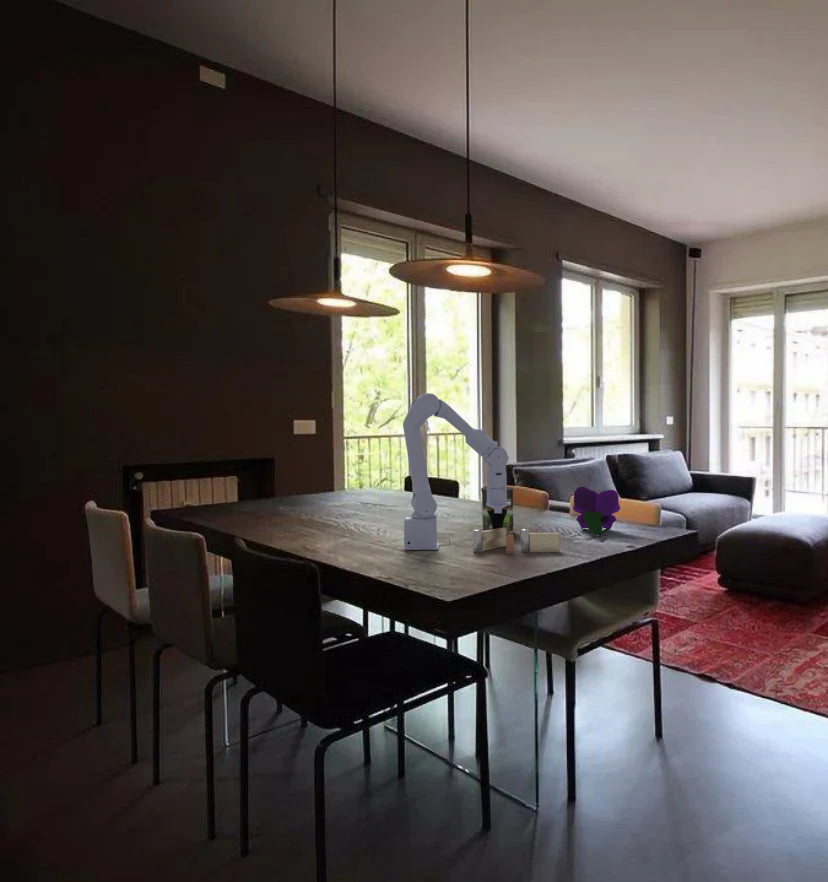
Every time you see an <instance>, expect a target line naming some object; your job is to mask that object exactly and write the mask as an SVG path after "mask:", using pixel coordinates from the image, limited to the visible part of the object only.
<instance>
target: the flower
mask: <svg viewBox="0 0 828 882" xmlns="http://www.w3.org/2000/svg"><path fill="white" fill-rule="evenodd" d="M619 499H620V498H619V493H618V492H617V490H614V489H607V490H603V491H601V492H599V493H597V492H596V491H595V490H592V489H589V488H588V487H585V486H579V487H577V488H576V489H575V491H574V493H573V506H572V509H573V511H574V512H575V513H578V514H579V515H578V516H577V517H576V520H575V521H576V522H577V523H578V524H579V527H580V529H581V530H582V529H583V528H588V529H587V530H589V531H590V532H591V533H592V534H594V535H596V536H597V535H601V536H602V535H604V533H607V531H610V530H611V529H612V527H613V524H614V523H615V522H616V521H617V518H616V516H615V515H614V514H615V513H618V512H619V511H620V510H621V506H620V503H619ZM604 528H606V529H604ZM609 529H610V530H609Z"/></svg>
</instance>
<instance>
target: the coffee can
mask: <svg viewBox="0 0 828 882" xmlns="http://www.w3.org/2000/svg"><path fill="white" fill-rule="evenodd" d="M480 491H481V531H485V530H492V523H491V519H490V516H489V514H488V512H487V510H493V509H494V508H491V507H488V506H486V503H487V486H486V487H482V488H480ZM507 502H510V503H511V505H510V506H506V507H504V508H502V509H506V510H507V514H506V516H505V519H504V522H503V527H508V528H510V534H514V488H513V487H509V486H507Z"/></svg>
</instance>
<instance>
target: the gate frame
mask: <svg viewBox="0 0 828 882" xmlns="http://www.w3.org/2000/svg"><path fill="white" fill-rule="evenodd" d="M481 531H482V529H472V552H473V553H474V552H481V553H482V552H483V550H482V533H481ZM519 532H520V534H519V535H520V537H519V538H520V540H519V541H520V552H521V553H524V552H527V553H560V533H559V532H530V529H528V528H527V529H526V528H521V529H520V530H519ZM514 536H515V535H514V533H510V534H506V546H505V551H506V553H505V554H515V548H514V547H515V542H514V540H515V538H514Z"/></svg>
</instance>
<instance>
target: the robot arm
mask: <svg viewBox="0 0 828 882" xmlns="http://www.w3.org/2000/svg"><path fill="white" fill-rule="evenodd" d="M432 416H433V417H434V418H435V417H436V418H440V419H444V420H445V421H447V422H448V423H449V425H451V426H452V427H454V429H456V430H457V431H459V432H460V433H461V434H462V435H463V436H464V439H465V443H466V444H467V446H469V448H471V449H473V451H475V452H476V454H478V455H479V456H480V457H482V458H483V459H484V462H485V463H486V487H487V503H486V506H488V507H491V508H494V509H493V510H487V512H488V514H489V516H490V519H491V523H492V529H498V528H503V522H504V519H505V516H506V514H507V510H506V509H502V508H504V507H506V506H510V505H511V503H510V502H507V487H508V486H507V482H508V481H507V464H508V462H509V458H510V457H509V456H508V452H507V450H506V449H504V448H503V447H501V446H498V445H499V442H497V440H493V439H492V438H491V437H490V436H489V435H488V434H486V433H487V430H485V428H480V427H472V425H470V424H469V423H468V422H467V421H466V420H465V419H463V417H461V415H460V414H459V413H458V412H456V411H455V410H454V409H453V408H452V407H451V406H450V405H449V404H448V403H446V402H445V401H443V400H442V399H439V398H438V396H437V395H435V394H434V393H430V392H428V393H427V392H426V393H423V394H420V395H418V396H417V397H416V398H415V399H414V400H413V401H411V403H410V406H409V408H408V411H407V414H406V416H405V417H404V420H403V422H402V428H403V434H404V440H405V447H406V452H407V459H408V464H409V465H408V466H409V471H410V476H411V483H412V487H411V488H412V489H411V490H412V498H411V504H410V505H411V507H412V508H413V509H412V510H413V512H412V513H411V516H406V517H405V516H404V519H403V530H404V531H403V534H404V536H403V543H404V549H405V550H404V551H412V550H413V551H423V550H424V551H425V550H426V551H434V550H435V551H437V550H439V546H440V542H438V525H437V523H438V521H437V519H438V517H437V514H436V511H437V507H438V505H437V502H436V499H435V498H434V497H433V495H432V490H431V487H430V483H429V476H428V470H427V464H426V458H425V451H424V444H423V440H422V434H421V433H422V431H421V428H422V426H424V424H425V423H426V422H427V420H428V419H429V418H431V417H432Z"/></svg>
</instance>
